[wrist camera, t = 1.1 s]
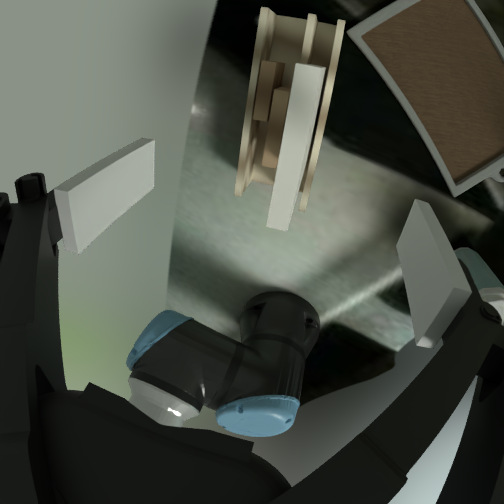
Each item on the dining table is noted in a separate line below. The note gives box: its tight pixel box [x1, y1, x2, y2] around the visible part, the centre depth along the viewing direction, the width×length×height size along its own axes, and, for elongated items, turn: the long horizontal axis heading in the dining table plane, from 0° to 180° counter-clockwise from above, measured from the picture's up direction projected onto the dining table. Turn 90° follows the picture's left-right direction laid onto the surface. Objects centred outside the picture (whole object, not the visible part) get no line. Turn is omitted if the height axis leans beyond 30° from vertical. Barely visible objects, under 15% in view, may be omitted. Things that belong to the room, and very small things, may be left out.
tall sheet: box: [266, 63, 326, 232], centre depth 30 cm, size 12×2×22 cm, turn 172°
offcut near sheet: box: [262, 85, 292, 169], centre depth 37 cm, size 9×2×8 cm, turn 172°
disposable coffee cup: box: [454, 247, 504, 326], centre depth 40 cm, size 11×11×15 cm
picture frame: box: [346, 0, 504, 197], centre depth 32 cm, size 19×2×30 cm
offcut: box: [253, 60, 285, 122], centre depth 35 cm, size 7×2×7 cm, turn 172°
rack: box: [234, 7, 345, 212], centre depth 37 cm, size 24×9×7 cm, turn 172°
